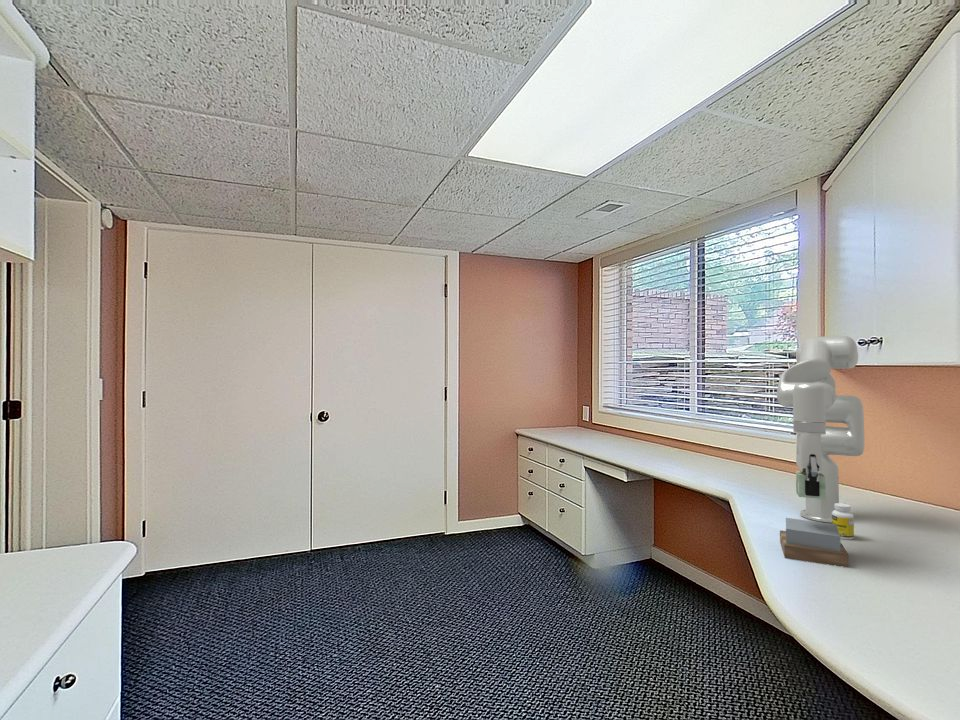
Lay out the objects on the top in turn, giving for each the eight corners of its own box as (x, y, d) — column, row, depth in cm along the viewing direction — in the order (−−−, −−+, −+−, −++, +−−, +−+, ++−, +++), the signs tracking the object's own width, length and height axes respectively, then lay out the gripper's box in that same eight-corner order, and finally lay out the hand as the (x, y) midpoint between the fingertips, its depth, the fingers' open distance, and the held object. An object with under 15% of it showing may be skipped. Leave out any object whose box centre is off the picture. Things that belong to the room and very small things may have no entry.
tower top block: (786, 531, 144) (785, 517, 144) (836, 538, 138) (836, 524, 138) (786, 543, 134) (785, 528, 134) (840, 552, 127) (840, 536, 128)
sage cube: (796, 492, 140) (795, 471, 140) (821, 494, 137) (821, 473, 137) (799, 496, 135) (798, 474, 135) (825, 499, 132) (825, 476, 132)
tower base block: (780, 543, 145) (779, 530, 145) (837, 551, 139) (837, 537, 139) (784, 560, 132) (784, 545, 132) (848, 569, 126) (848, 553, 126)
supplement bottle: (827, 535, 151) (827, 503, 151) (839, 533, 153) (839, 501, 153) (846, 540, 146) (845, 507, 146) (858, 538, 148) (857, 506, 148)
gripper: (789, 424, 146) (790, 485, 145) (797, 430, 130) (798, 498, 130) (819, 425, 143) (820, 488, 142) (831, 431, 127) (833, 501, 127)
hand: (810, 492), depth 136 cm, fingers closed on sage cube, 6 cm apart
